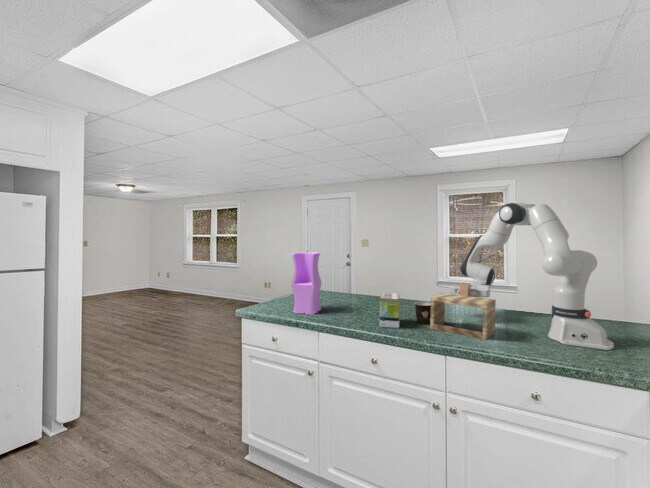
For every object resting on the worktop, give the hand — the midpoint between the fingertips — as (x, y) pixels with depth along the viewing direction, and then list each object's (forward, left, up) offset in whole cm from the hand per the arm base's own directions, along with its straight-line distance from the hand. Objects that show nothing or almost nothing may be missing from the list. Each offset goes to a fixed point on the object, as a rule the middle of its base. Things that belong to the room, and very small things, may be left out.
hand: (464, 293), depth 173 cm
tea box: (+28, +28, -16) cm, 43 cm away
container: (+79, +37, -15) cm, 89 cm away
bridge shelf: (-4, +16, -15) cm, 22 cm away
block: (0, -1, -6) cm, 6 cm away
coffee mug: (+14, +15, -15) cm, 26 cm away
